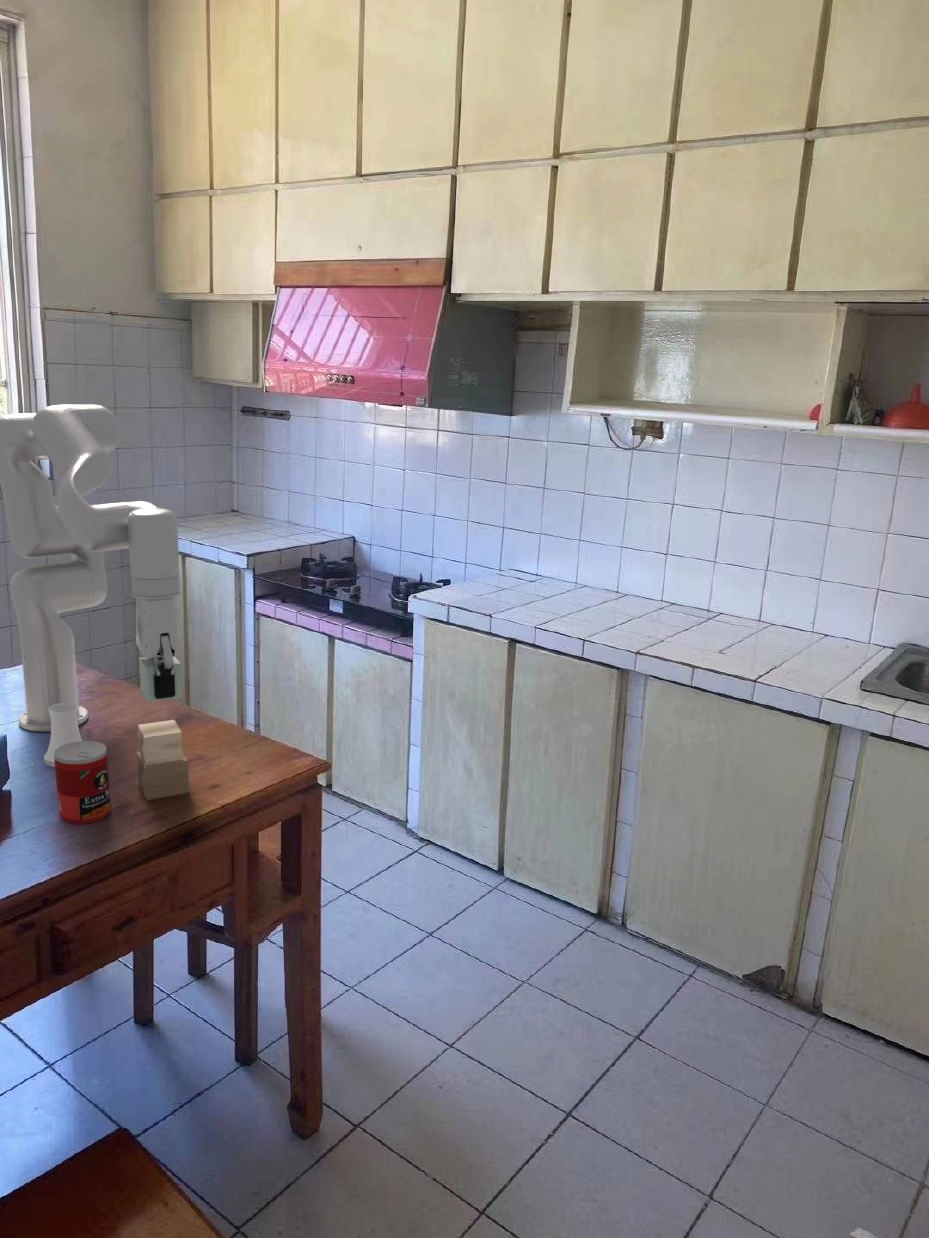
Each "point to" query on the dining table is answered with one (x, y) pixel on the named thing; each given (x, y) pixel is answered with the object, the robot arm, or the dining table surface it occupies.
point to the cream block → (163, 778)
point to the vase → (62, 728)
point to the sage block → (148, 679)
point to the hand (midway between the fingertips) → (160, 690)
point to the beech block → (160, 742)
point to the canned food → (82, 781)
